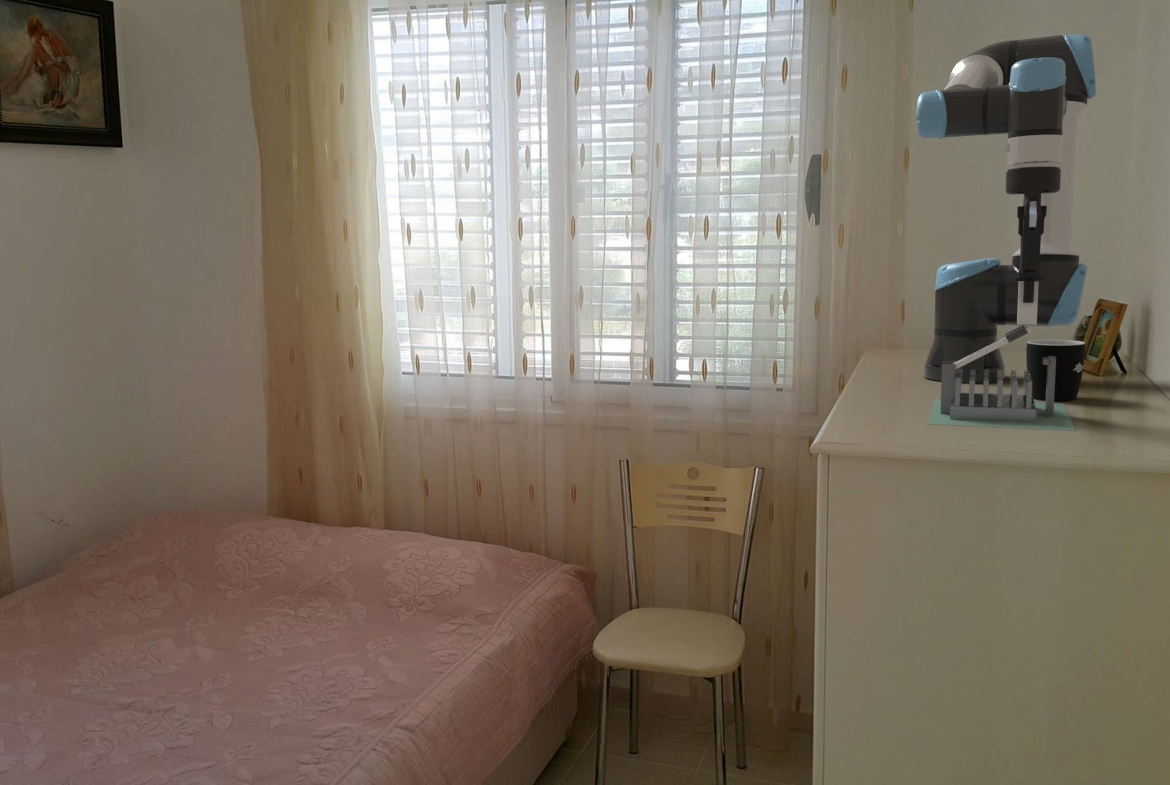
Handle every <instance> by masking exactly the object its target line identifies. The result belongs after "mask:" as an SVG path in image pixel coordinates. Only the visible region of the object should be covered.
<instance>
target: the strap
mask: <svg viewBox="0 0 1170 785" xmlns="http://www.w3.org/2000/svg"><path fill="white" fill-rule="evenodd" d="M1031 332H1032V329H1031V327H1030V326H1024V325H1022V326H1018V327H1016V328H1014V329H1013V330H1012V329H1011V330H1010V331H1008V332H1006V333H1005V336H1004V337H1002V338H1001V339H999V340H998V339H997V341H996V342H994V343H992V344H990V345H988V346H986V347H984V348H982V349H980V350H979V351H977V352H975V353H973V354H971V355H969V356H967V357H965V358H963V359H961V360H959V361H957V362H955V363H953V364H956V369H958V368H960V367H962V366H964V365H966V364H968V363H970V362H972V361H973V360H975V359H977V358H979V357H981V356H983V355H985V354H987V353H989V352H991V351H993V350H995V349H997V348H999V349H1000V348H1001V347H1003V346H1005V345H1007V344H1009V343H1012V342H1013V341H1016V340H1018V339H1019V338H1022V337H1023V336H1026V335H1028V334H1029V333H1031Z"/></svg>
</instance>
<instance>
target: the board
mask: <svg viewBox="0 0 1170 785" xmlns="http://www.w3.org/2000/svg"><path fill="white" fill-rule="evenodd" d="M932 404H933V405H932V407H931V410H930V413H929V417H928V420H927V425H930V426H933V425H935V426H956V427H979V428H998V429H999V428H1001V429H1002V428H1003V429H1022V430H1023V429H1025V430H1027V429H1028V430H1044V431H1045V430H1047V431H1070V432H1071V431H1072V432H1073V431H1074V432H1076V429H1075V427H1074V423H1073V422H1072V419H1071V417H1070V415H1069V413H1068V411H1067V408H1066V406H1065V403H1061V402H1060V403H1059V402H1054V413H1053V417H1046V415H1045V404H1046V402H1034V404H1035V407H1036V422H1035V423H1030V422H1006V421H981V420H957V419H950V414H941V398H939V399H938V398H934V400H933V403H932Z"/></svg>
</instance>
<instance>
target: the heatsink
mask: <svg viewBox="0 0 1170 785" xmlns="http://www.w3.org/2000/svg"><path fill="white" fill-rule="evenodd" d="M955 362H957V361H943V364H942V381H940V382H941V383H940V384H941V385H940V386H941V387H940V390H941V391H940V399H941V414H950V419H957V420H981V421H1006V422H1030V423H1035V422H1036V407H1035V404H1034V403H1035V399H1033V396H1032V379H1031V376H1030V372H1029V371H1027V370H1024V371H1023V372H1024V373H1023V394H1018V383H1019V382H1018V377H1017V372H1016V369H1015V370H1013V369H1011V370H1010V381H1009V382H1010V384H1009V394H1007V393H1003V392H1004V379H1003V375H1002V370H997V381H996V391H995V392H996V393H989V383H990V382H989V370H984V382H983V385H982V386H983V387H982V388H983V389H982V393H976V382H975V369H971V373H970V382H968V383H969V386H968V388H969V389H968V392H963V391H962V390H963V389H962V388H963V382H962V369H958V371H957V375H956V364H953V363H955ZM1042 362H1043V365H1047V383H1046V401H1045V403H1046V404H1045V415H1046V417H1053V413H1054V403H1055V402H1054V391H1055V370H1056V357H1055V356H1048V357H1043V361H1042Z"/></svg>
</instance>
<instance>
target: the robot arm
mask: <svg viewBox="0 0 1170 785" xmlns="http://www.w3.org/2000/svg"><path fill="white" fill-rule="evenodd" d="M1093 51H1094V50H1093V44H1092V39H1091V38H1090V36H1088V35H1086V34H1066V33H1065V34H1060V35H1051V36H1043V37H1042V36H1040V37H1035V38H1033V37H1032V38H1025V39H1023V38H1022V39H1015V40H1014V39H1013V40H1003V41H999V42H995V43H991V44H988V45H986V46H984V47H981V48H978V49H976V50H975V51H973V52H971V53H969V54H967V55H966V56H964V57H963V58H962V59H961V60H959V61H958V62H957V63H956V64H955V66H954V67H953V69H952V70H951V73H950V75H949V78H948V84H947V85H946V86H945V88H944V89H942V90H941V89H935V90H932V91H931V90H930V91H924V92H922V93H921V94H920V95H919V96H918V98H917V103H916V112H915V114H916V117H915V118H916V129H917V130H916V131H917V134H918V135H919V137H921V138H923V139H937V140H938V139H939V140H941V139H942V140H943V139H944V138H956V137H957V138H958V137H970V136H971V137H972V136H973V137H974V136H988V135H989V136H990V135H992V136H993V135H1007V143H1008V144H1005V145H1003V148H1002V151H1003V152H1004V153H1007V156H1006V158H1007V159H1006V164H1007V166H1009V167H1010V168H1008V169H1007V171H1006V172H1005V192H1006V194H1008V195H1023V204H1022V206H1017V210H1016V216H1017V217H1016V218H1017V219H1018V229H1017V230H1018V231H1017V234H1018V235H1019V236H1020V247H1019V248H1018V250H1016V251H1014V253H1013V254H1012V256H1011V258H1012V260H1011V264H1001V260H1000V258H999V257H991V258H983V259H975V260H968V261H961V262H953V263H947V264H943V265H941V266H940V267H939V268H938V269H937V271H936V275H935V276H936V279H935V285H934V286H935V287H934V289H933V290H934V291H935V292H934V293H935V294H934V296H935V297H934V298H935V300H934V302H935V303H934V326H933V329H934V331H933V332H934V333H933V334H934V335H933V341H932V344H931V347H930V349H929V352H928V354H927V356H926V357H927V358H926V360H925V363H924V366H923V377H924V378H926V379H928V380H933V381H940V382H941V381H942V364H943V361H959V360H961V359H963V358H965V357H967V356H969V355H971V354H973V353H975V352H977V351H979V350H980V349H982V348H984V347H986V346H988V345H990V344H992V343H994V342H996V341H998V326H1018V327H1020V326H1022V325H1024V326H1025V327H1026V326H1029V327H1047V328H1050V327H1065V326H1066V327H1068V326H1070V325H1073V324H1074V323H1075V322H1076V321H1077V319H1078V315H1079V312H1080V306H1081V301H1082V298H1083V293H1084V286H1085V282H1086V277H1087V271H1088V266H1087V265H1086V264H1084V263H1083V262H1081V263H1080V254H1079V253H1078V251H1076V250H1075V248H1073V245H1072V235H1073V234H1072V233H1073V232H1072V230H1073V215H1074V214H1073V213H1074V195H1075V194H1074V192H1075V189H1074V188H1075V171H1076V154H1077V153H1076V151H1077V134H1078V133H1077V131H1078V119H1079V117H1080V115H1081V114H1082V113H1084V112H1085V111H1086V110H1087V109H1088V100H1091V99H1093V98H1096V96H1097V85H1096V76H1095V75H1096V72H1095V61H1094V60H1095V58H1094V52H1093ZM958 369H962V383H969V382H970V373H971V369H975V383H984V370H989V383H990V382H991V383H992V382H997V370H1002V375H1003V380H1005V378H1006V366H1005V362H1004V359H1003V356H1002V352H1001V350H1000V347H999V348H997V349H995V350H993V351H991V352H989V353H987V354H985V355H983V356H981V357H979V358H977V359H975V360H973V361H972V362H970V363H968V364H966V365H964V366H962V367H960V368H958ZM958 369H956V375H957V371H958Z"/></svg>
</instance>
